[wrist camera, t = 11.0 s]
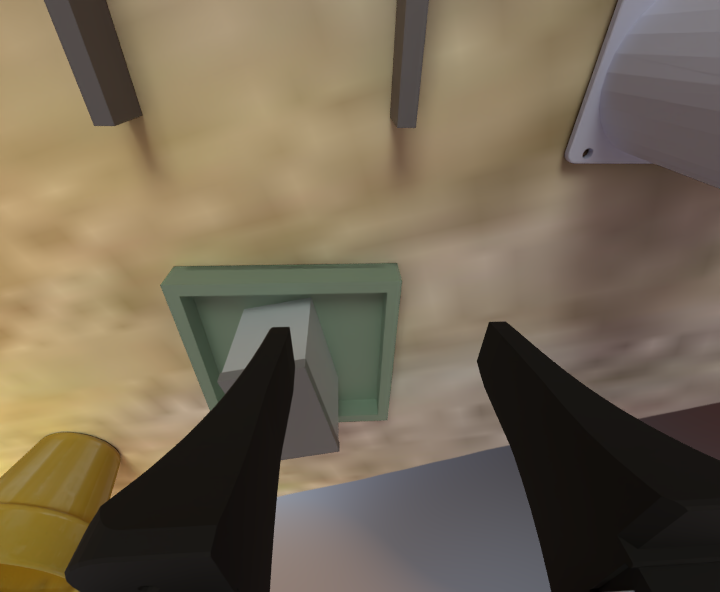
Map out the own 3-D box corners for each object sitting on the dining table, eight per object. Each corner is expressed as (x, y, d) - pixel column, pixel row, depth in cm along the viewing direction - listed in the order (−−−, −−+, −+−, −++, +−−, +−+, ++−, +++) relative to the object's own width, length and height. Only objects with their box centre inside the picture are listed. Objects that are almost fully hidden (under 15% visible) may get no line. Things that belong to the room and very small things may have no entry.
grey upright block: (311, 296, 22) (304, 367, 17) (338, 378, 27) (339, 451, 22) (242, 308, 22) (217, 382, 18) (281, 387, 27) (270, 461, 22)
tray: (397, 263, 22) (401, 281, 20) (384, 399, 30) (387, 420, 28) (173, 266, 21) (160, 285, 19) (223, 405, 29) (216, 426, 27)
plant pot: (51, 481, 35) (-33, 611, 27) (-13, 421, 29) (-146, 565, 21) (157, 477, 35) (105, 602, 27) (117, 416, 29) (35, 555, 21)
